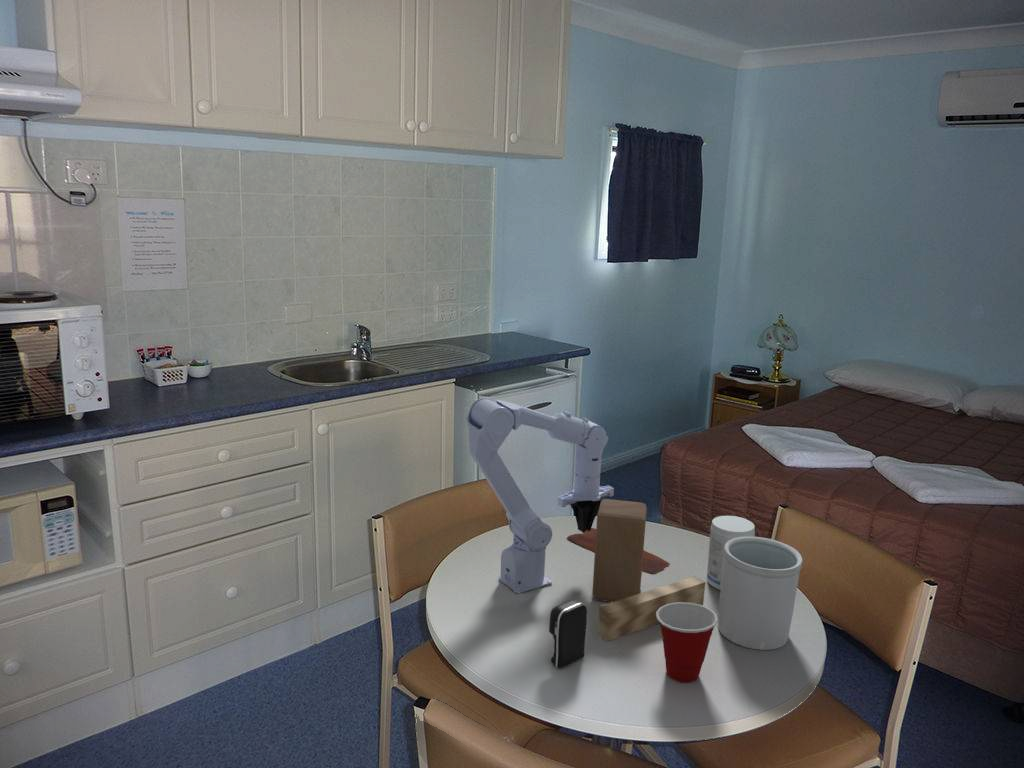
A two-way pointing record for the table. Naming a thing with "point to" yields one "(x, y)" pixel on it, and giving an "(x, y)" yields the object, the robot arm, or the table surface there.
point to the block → (618, 549)
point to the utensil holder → (758, 592)
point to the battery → (568, 632)
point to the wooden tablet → (649, 560)
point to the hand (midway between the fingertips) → (584, 530)
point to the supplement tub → (719, 536)
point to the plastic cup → (685, 638)
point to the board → (646, 607)
